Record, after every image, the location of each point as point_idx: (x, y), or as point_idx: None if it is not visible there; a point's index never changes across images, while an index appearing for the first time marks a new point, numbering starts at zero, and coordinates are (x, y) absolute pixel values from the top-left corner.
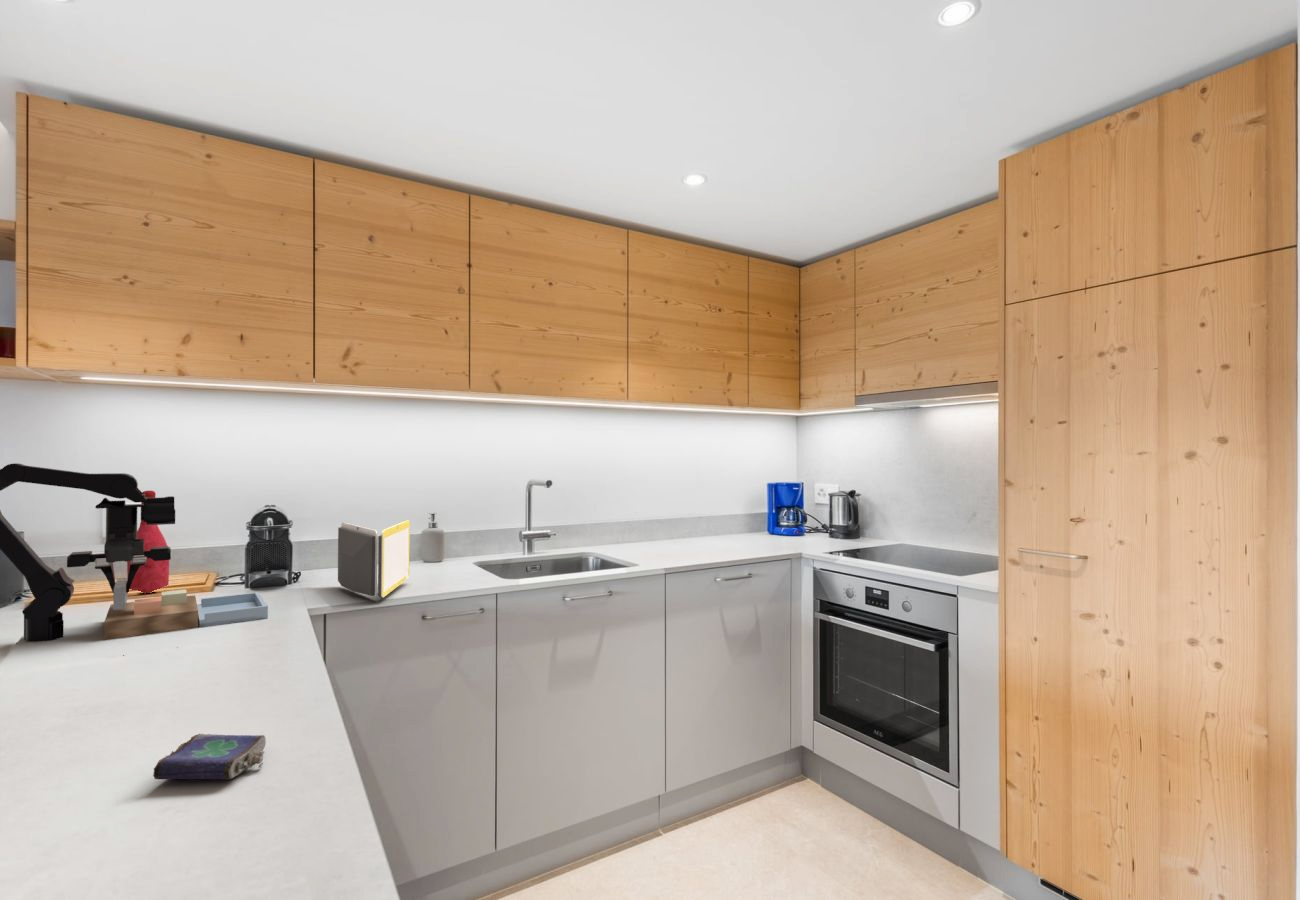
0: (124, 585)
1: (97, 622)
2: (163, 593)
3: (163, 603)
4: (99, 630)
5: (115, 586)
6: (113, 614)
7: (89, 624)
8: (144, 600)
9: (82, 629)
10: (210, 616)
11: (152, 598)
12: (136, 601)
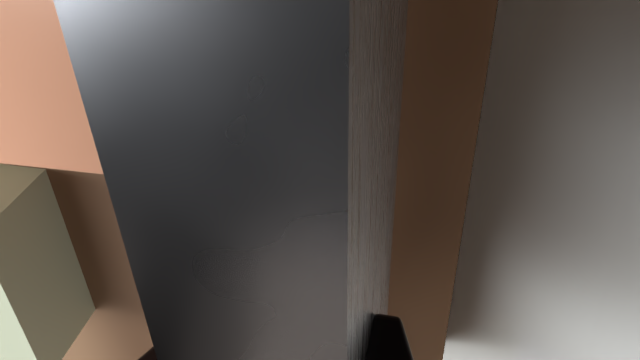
0: (109, 122)
1: (506, 352)
2: (1, 314)
3: (18, 180)
4: (526, 112)
5: (313, 102)
6: (422, 35)
7: (555, 334)
8: (56, 61)
9: (623, 228)
10: None
11: (6, 134)
12: None
